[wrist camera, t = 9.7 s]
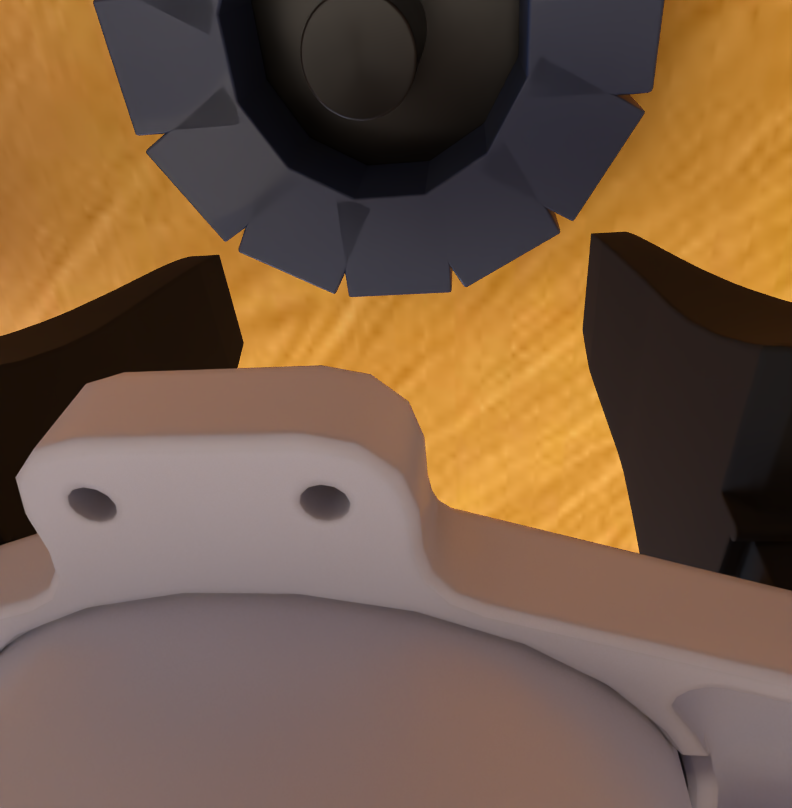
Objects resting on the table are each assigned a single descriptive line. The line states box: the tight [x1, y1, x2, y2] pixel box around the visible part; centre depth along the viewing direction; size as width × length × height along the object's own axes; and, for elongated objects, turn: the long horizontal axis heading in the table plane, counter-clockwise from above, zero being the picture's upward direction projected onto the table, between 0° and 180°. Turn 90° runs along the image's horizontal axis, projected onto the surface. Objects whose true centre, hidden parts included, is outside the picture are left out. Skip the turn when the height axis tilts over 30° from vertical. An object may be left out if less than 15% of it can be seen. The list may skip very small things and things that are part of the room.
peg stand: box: [251, 0, 519, 165], centre depth 16 cm, size 9×9×6 cm
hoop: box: [93, 0, 664, 297], centre depth 16 cm, size 13×13×3 cm
